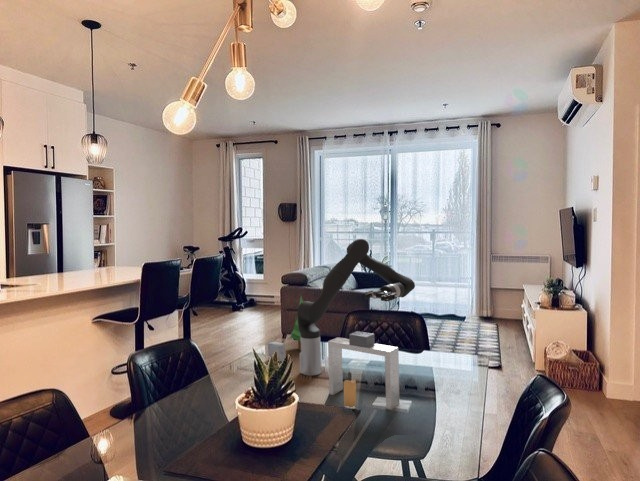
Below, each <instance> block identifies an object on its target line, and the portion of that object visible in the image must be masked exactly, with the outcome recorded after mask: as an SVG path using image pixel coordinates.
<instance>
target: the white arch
mask: <svg viewBox="0 0 640 481" xmlns="http://www.w3.org/2000/svg"><path fill="white" fill-rule="evenodd" d="M348 335H349V336H348V338H345V337H335V338H333V339H329V340H328V341H327V347H328V348H327V350H328V351H327V352H328V353H327V354H328V359H327V360H328V385H329V386H328V388H329V395H332V396H334V395H336V394H337V393H340V392H341V391H344V378H343V350H348V351H353V352H358V353H359V352H360V353H363V354H364V353H365V354H371V355H376V356H381V357H384V363H385V364H384V370H385V371H384V372H385V376H384V377H385V409H387V410H390V411H392V410H393V409H394V408H395V407H396V406H398V405H399V404H400V372H399V371H400V370H399V361H400V360H399V347H398V346H393V345H386V344H383V343H382V344H381V343H377V342H376V341H375V340H376V339H375V335H376V334H375V333H371V332H365V331H360V330H356V331H354V332H351V333H349V334H348ZM375 342H376V343H375Z"/></svg>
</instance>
